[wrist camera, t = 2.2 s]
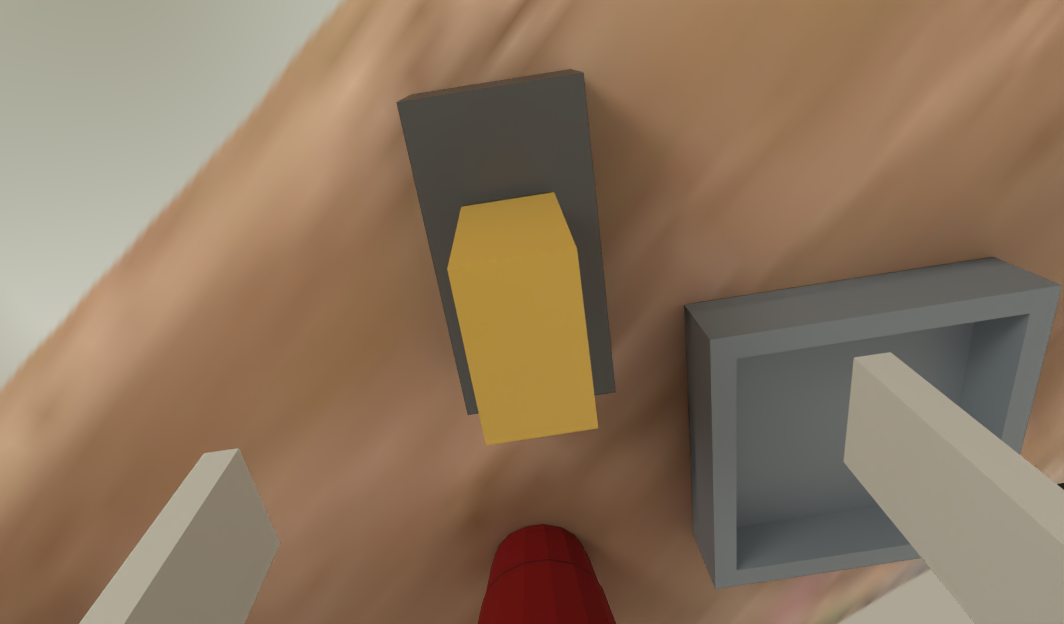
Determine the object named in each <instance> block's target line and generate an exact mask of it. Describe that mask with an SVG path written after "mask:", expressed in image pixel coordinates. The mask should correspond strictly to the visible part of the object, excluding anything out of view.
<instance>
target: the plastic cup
mask: <svg viewBox="0 0 1064 624" xmlns="http://www.w3.org/2000/svg"><path fill="white" fill-rule="evenodd" d="M478 624H616V622H615V620H614V617H613V615H612V612H611V609H610V607H609V604H608V601H607V599H606V596H605V593H604V591H603V588H602V587H601V586H600V584H599V583H598V580H597V577H596V575H595V572H594V570H593V567H592V564H591V562H590V559H589V557H588V554H587V553H586V551H585V550H584V548H583V546H582V545H581V543H580V542H579V541H578V539H577V538H576V536H575V535H573V534H571V533H570V532H568V531H566V530H564V529H563V528H561V527H555V526H549V525H536V526H528V527H524V528H522V529H520V530H518V531H516V532H514V533H512V534H510V535H509V536H508V537H507V538H506V539H505V540H504V541H503V542H502V543H501V544H500V545H499V547H498V550H497V552H496V554H495V557H494V560H493V563H492V566H491V571H490V576H489V581H488V586H487V591H486V594H485V597H484V600H483V603H482V607H481V611H480V616H479V620H478Z"/></svg>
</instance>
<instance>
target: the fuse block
mask: <svg viewBox="0 0 1064 624" xmlns="http://www.w3.org/2000/svg"><path fill="white" fill-rule="evenodd" d="M397 106H398V111H399V115H400V120H401V124H402V128H403V133H404V137H405V141H406V146H407V150H408V155H409V159H410V163H411V168H412V172H413V177H414V181H415V185H416V190H417V194H418V198H419V203H420V207H421V212H422V216H423V220H424V225H425V229H426V234H427V238H428V242H429V247H430V251H431V256H432V260H433V264H434V269H435V273H436V277H437V282H438V286H439V291H440V295H441V299H442V304H443V308H444V313H445V317H446V321H447V326H448V330H449V334H450V339H451V343H452V348H453V352H454V356H455V361H456V365H457V370H458V374H459V378H460V383H461V387H462V391H463V396H464V400H465V405H466V409H467V413H468V415H471V414H478V413H479V412H478V408H477V403H476V398H475V394H474V389H473V385H472V380H471V375H470V371H469V366H468V362H467V357H466V353H465V348H464V343H463V339H462V334H461V330H460V325H459V321H458V316H457V311H456V307H455V302H454V298H453V293H452V289H451V284H450V279H449V275H448V270H447V268H448V263H449V259H450V255H451V250H452V246H453V241H454V237H455V232H456V228H457V223H458V219H459V215H460V210H461V207H463V206H469V205H472V204H477V203H483V202H490V201H496V200H502V199H509V198H515V197H521V196H528V195H534V194H540V193H547V192H548V193H552V192H554V193H555V195H556V198H557V200H558V203H559V205H560V208H561V210H562V213H563V215H564V218H565V220H566V223H567V225H568V228H569V230H570V233H571V235H572V238H573V240H574V242H575V245H576V247H577V253H578V261H579V269H580V278H581V286H582V295H583V303H584V312H585V320H586V328H587V337H588V345H589V354H590V362H591V371H592V379H593V387H594V396H595V395H601V394H608V393H614V392H616V391H615V381H614V371H613V361H612V351H611V341H610V331H609V321H608V311H607V302H606V292H605V282H604V272H603V262H602V252H601V242H600V232H599V222H598V212H597V202H596V192H595V182H594V173H593V163H592V153H591V143H590V133H589V123H588V113H587V103H586V93H585V83H584V73H583V72H580V71H576V70H572V69H569V70H563V71H556V72H550V73H544V74H538V75H531V76H525V77H519V78H512V79H506V80H500V81H494V82H487V83H481V84H475V85H468V86H462V87H456V88H450V89H443V90H437V91H431V92H425V93H418V94H412V95H409V96H407V97H406V98H404V99H402V100H400V101H398V102H397Z"/></svg>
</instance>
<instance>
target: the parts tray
mask: <svg viewBox="0 0 1064 624" xmlns="http://www.w3.org/2000/svg"><path fill="white" fill-rule="evenodd" d="M1061 288H1062V285H1060V284H1058V283H1055V282H1053V281H1050V280H1048V279H1046V278H1043V277H1041V276H1038V275H1036V274H1034V273H1031V272H1029V271H1026V270H1024V269H1022V268H1019V267H1017V266H1014V265H1012V264H1009V263H1007V262H1005V261H1002V260H1000V259H997V258H995V257H989V258H982V259H976V260H970V261H963V262H957V263H950V264H944V265H937V266H931V267H925V268H918V269H912V270H905V271H899V272H892V273H886V274H880V275H873V276H867V277H860V278H854V279H847V280H841V281H834V282H828V283H822V284H815V285H809V286H802V287H796V288H789V289H783V290H777V291H770V292H764V293H757V294H751V295H744V296H738V297H732V298H725V299H719V300H712V301H706V302H699V303H693V304H686V305H684V308H685V333H686V357H687V382H688V406H689V431H690V456H691V480H692V505H693V529H694V537H695V540H696V542H697V545H698V547H699V550H700V552H701V555H702V557H703V560H704V562H705V565H706V567H707V569H708V572H709V574H710V577H711V579H712V582H713V584H714V587H715V589H719V588H726V587H733V586H739V585H746V584H753V583H759V582H766V581H772V580H779V579H786V578H792V577H799V576H806V575H812V574H819V573H825V572H832V571H839V570H845V569H852V568H859V567H865V566H872V565H878V564H885V563H892V562H898V561H905V560H912V559H918V558H921V556H920V555H919V554H918V553H917V552H916V550H915V549H914V548H913V547H912V545H911V544H910V543H909V542H908V540H907V539H906V538H905V537H904V536H903V534H902V533H901V532H900V531H899V529H898V528H897V527H896V526H895V525H894V523H893V522H892V521H891V520H890V518H889V517H888V516H887V515H886V513H885V512H884V511H883V510H882V509H881V507H880V506H879V505H878V504H877V502H876V501H875V500H874V499H873V498H872V496H871V495H870V494H869V493H868V491H867V490H866V489H865V488H864V486H863V485H862V484H861V483H860V482H859V480H858V479H857V478H856V477H855V475H854V474H853V473H852V472H851V471H850V469H849V468H848V467H847V466H846V464H845V463H844V452H845V442H846V431H847V421H848V411H849V401H850V391H851V381H852V371H853V361H854V357H861V356H868V355H874V354H881V353H888V352H891V353H892V354H893V355H895V356H896V357H897V358H899V359H900V360H901V361H902V362H904V363H905V364H906V365H907V366H909V367H910V368H911V369H912V370H914V371H915V372H916V373H917V374H919V375H920V376H921V377H922V378H924V379H925V380H926V381H927V382H929V383H930V384H931V385H932V386H934V387H935V388H936V389H938V390H939V391H940V392H941V393H943V394H944V395H945V396H946V397H948V398H949V399H950V400H951V401H953V402H954V403H955V404H956V405H958V406H959V407H960V408H961V409H963V410H964V411H965V412H966V413H968V414H969V415H970V416H971V417H973V418H974V419H975V420H977V421H978V422H979V423H980V424H982V425H983V426H984V427H985V428H987V429H988V430H989V431H990V432H992V433H993V434H994V435H995V436H997V437H998V438H999V439H1000V440H1002V441H1003V442H1004V443H1005V444H1007V445H1008V446H1009V447H1010V448H1012V449H1013V450H1014V451H1016V452H1017V453H1018V454H1019V455H1020V453H1021V449H1022V445H1023V440H1024V436H1025V432H1026V428H1027V424H1028V420H1029V416H1030V412H1031V408H1032V404H1033V400H1034V396H1035V392H1036V388H1037V384H1038V380H1039V376H1040V372H1041V368H1042V364H1043V360H1044V356H1045V352H1046V348H1047V344H1048V340H1049V336H1050V332H1051V328H1052V324H1053V320H1054V316H1055V312H1056V308H1057V304H1058V300H1059V296H1060V292H1061Z"/></svg>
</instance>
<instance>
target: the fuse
mask: <svg viewBox="0 0 1064 624" xmlns="http://www.w3.org/2000/svg"><path fill="white" fill-rule="evenodd" d="M447 270H448V275H449V279H450V284H451V289H452V293H453V298H454V302H455V307H456V311H457V316H458V321H459V325H460V330H461V334H462V339H463V343H464V348H465V353H466V357H467V362H468V366H469V371H470V375H471V380H472V385H473V389H474V394H475V398H476V403H477V408H478V412H479V417H480V421H481V426H482V430H483V435H484V440H485V444H486V445H492V444H499V443H505V442H512V441H518V440H525V439H531V438H538V437H544V436H551V435H557V434H564V433H570V432H577V431H583V430H590V429H596V428H598V421H597V413H596V404H595V396H594V387H593V379H592V371H591V362H590V354H589V345H588V337H587V328H586V320H585V312H584V303H583V295H582V286H581V278H580V269H579V261H578V253H577V247H576V245H575V242H574V240H573V238H572V235H571V233H570V230H569V228H568V225H567V223H566V220H565V218H564V215H563V213H562V210H561V208H560V205H559V203H558V200H557V198H556V195H555V193H554V192H552V193H545V194H544V193H540V194H534V195H528V196H521V197H515V198H509V199H502V200H496V201H490V202H483V203H477V204H473V205H469V206H463V207H461V210H460V215H459V219H458V223H457V228H456V232H455V237H454V241H453V246H452V250H451V255H450V259H449V263H448V268H447Z"/></svg>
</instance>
